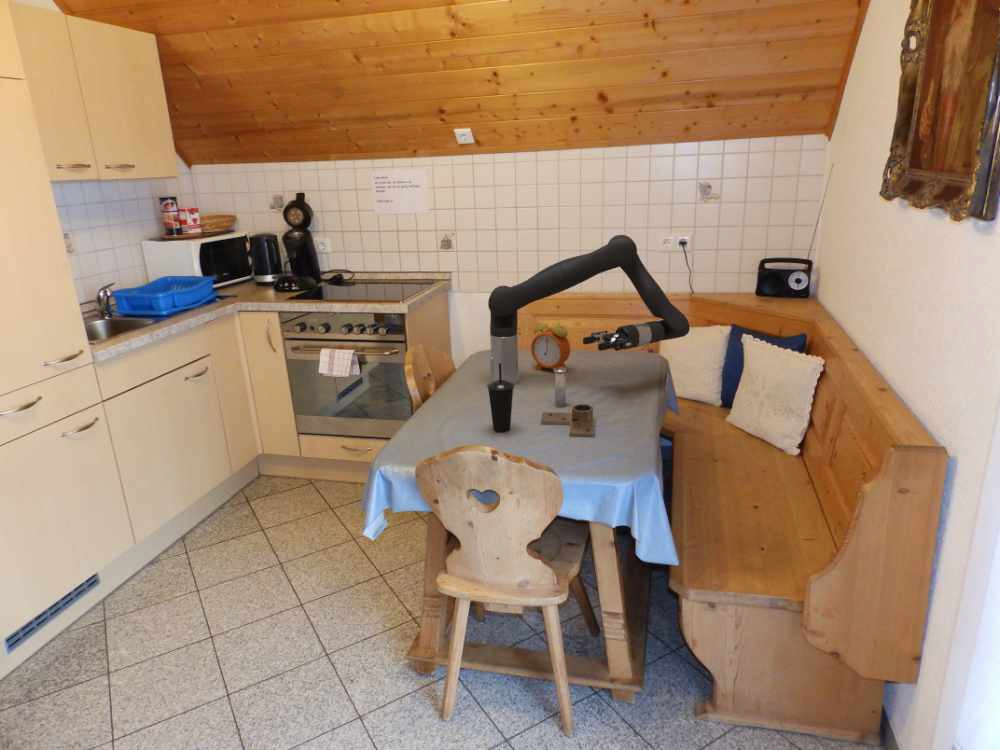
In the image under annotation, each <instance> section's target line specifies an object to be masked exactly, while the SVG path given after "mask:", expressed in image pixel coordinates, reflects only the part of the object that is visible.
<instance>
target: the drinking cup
mask: <svg viewBox="0 0 1000 750" xmlns="http://www.w3.org/2000/svg"><path fill="white" fill-rule="evenodd" d="M486 388H487V390H488V396H489V397H488V398H489V405H490V411H491V412H490V413H491V420H492V421H491V422H492V427H493V431H494V432H495V433H497V434H498V433H499V434H503V433H507V432H510V431H511V422H512V412H513V411H512V408H513V398H514V397H513V395H514V394H513V393H514V388H515V384H513V383H512V382H509V381H506V380H502V374H501V363H499V380H496V381H493V382H491V381H490V382H489V383H488V384H487V385H486ZM509 430H510V431H509Z"/></svg>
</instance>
